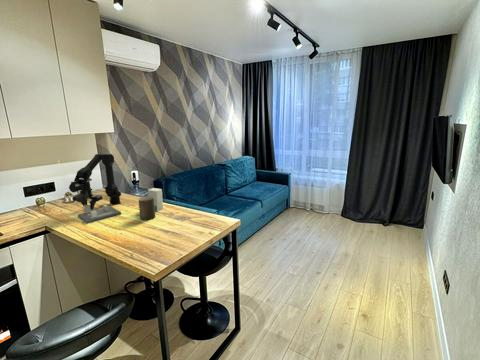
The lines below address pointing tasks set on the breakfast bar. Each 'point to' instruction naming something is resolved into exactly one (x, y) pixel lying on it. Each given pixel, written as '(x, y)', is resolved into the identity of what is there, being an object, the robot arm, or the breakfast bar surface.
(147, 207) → the pillar candle
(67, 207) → the breakfast bar surface
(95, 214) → the fader
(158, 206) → the skincare box
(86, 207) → the dial
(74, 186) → the robot arm
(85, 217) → the console
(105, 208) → the fader
